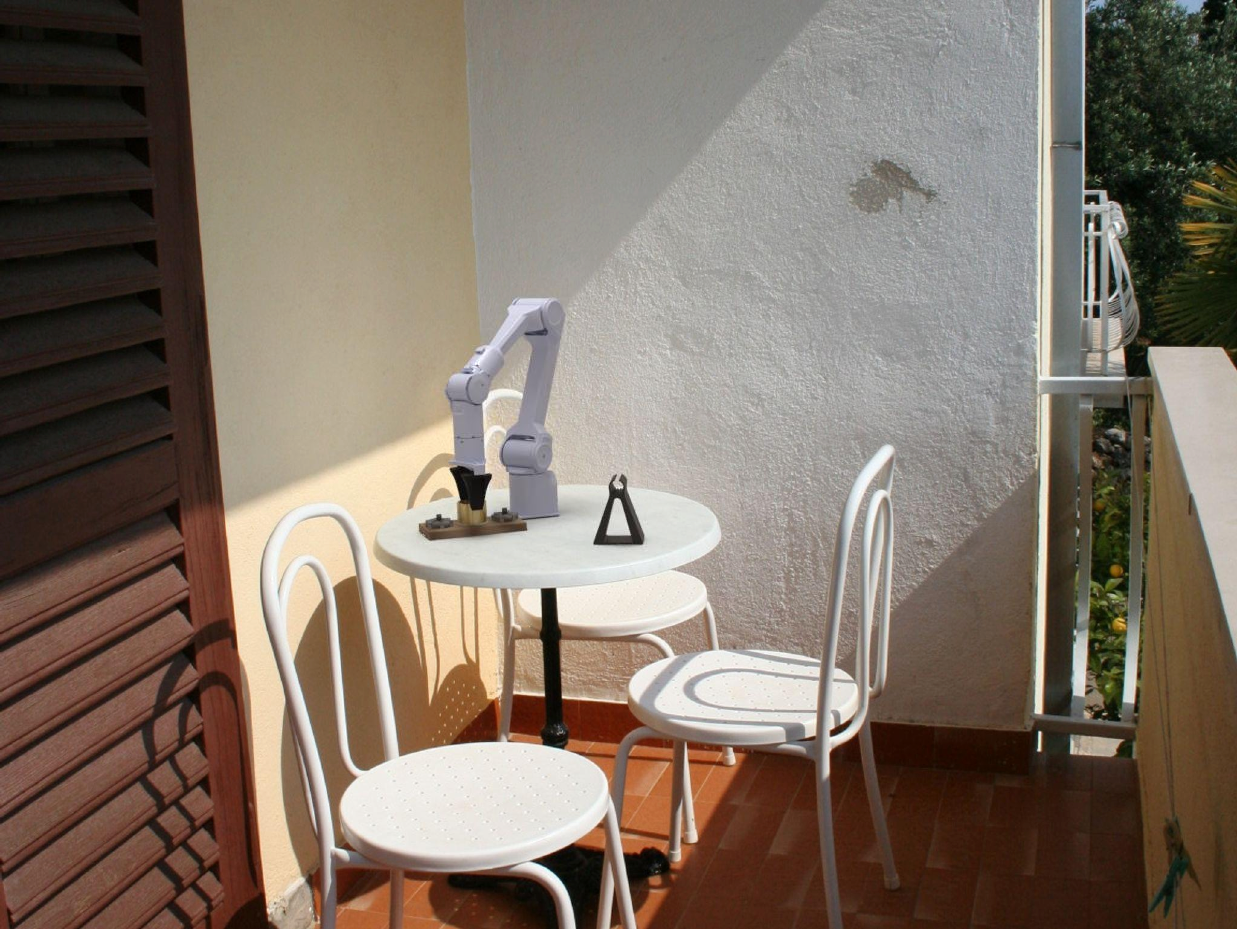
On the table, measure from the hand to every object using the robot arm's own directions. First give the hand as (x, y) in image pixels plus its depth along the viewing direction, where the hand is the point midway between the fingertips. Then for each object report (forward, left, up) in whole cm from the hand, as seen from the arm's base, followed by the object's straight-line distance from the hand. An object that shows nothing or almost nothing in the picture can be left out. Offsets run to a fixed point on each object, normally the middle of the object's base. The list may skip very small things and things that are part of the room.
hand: (471, 506), depth 236 cm
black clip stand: (-22, +21, -5) cm, 31 cm away
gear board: (0, 0, -5) cm, 5 cm away
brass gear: (0, 0, -3) cm, 3 cm away
